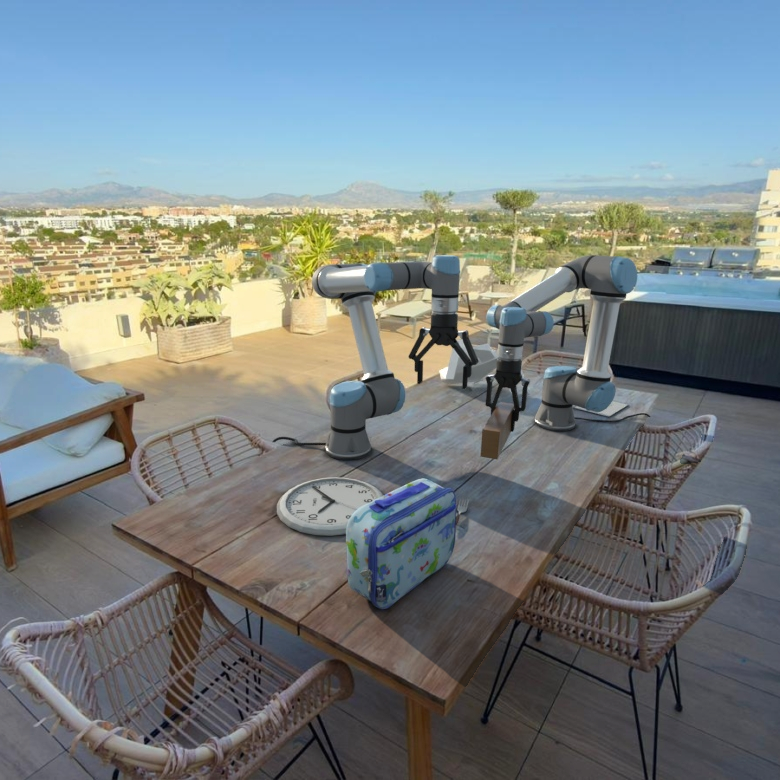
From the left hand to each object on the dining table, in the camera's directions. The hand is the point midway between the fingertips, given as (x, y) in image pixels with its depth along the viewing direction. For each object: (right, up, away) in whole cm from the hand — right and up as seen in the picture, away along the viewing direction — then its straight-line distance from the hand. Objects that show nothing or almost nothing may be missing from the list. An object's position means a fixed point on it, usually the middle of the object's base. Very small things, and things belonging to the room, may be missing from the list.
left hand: (441, 385), depth 152 cm
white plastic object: (+27, -3, +91) cm, 95 cm away
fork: (+3, -35, -15) cm, 38 cm away
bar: (+18, -17, +6) cm, 25 cm away
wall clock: (-31, -33, -10) cm, 46 cm away
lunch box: (-12, -43, -39) cm, 59 cm away
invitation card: (+76, -9, +74) cm, 107 cm away
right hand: (+21, -14, +15) cm, 29 cm away
